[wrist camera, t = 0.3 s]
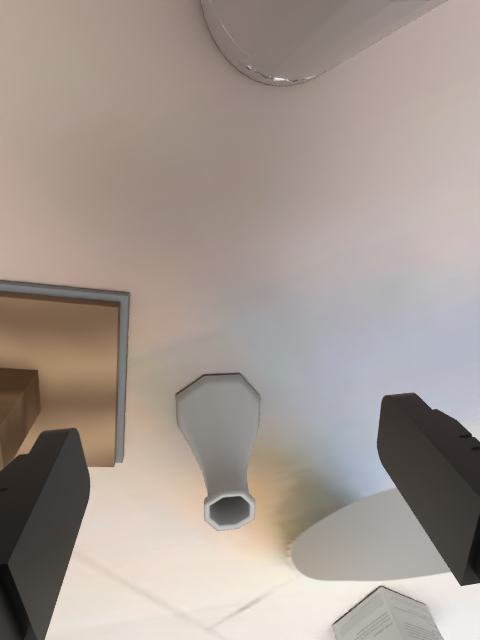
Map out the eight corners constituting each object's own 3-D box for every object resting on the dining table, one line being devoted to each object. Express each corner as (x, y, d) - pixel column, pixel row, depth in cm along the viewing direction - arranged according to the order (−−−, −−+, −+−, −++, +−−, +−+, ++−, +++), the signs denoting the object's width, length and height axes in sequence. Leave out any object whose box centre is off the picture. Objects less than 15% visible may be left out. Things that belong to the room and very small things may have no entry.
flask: (192, 452, 33) (193, 566, 24) (160, 388, 30) (148, 491, 21) (270, 427, 33) (301, 532, 24) (247, 359, 30) (272, 450, 21)
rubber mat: (-115, 269, 24) (-122, 272, 23) (129, 293, 27) (128, 295, 26) (-74, 452, 30) (-79, 457, 29) (123, 457, 32) (122, 462, 32)
